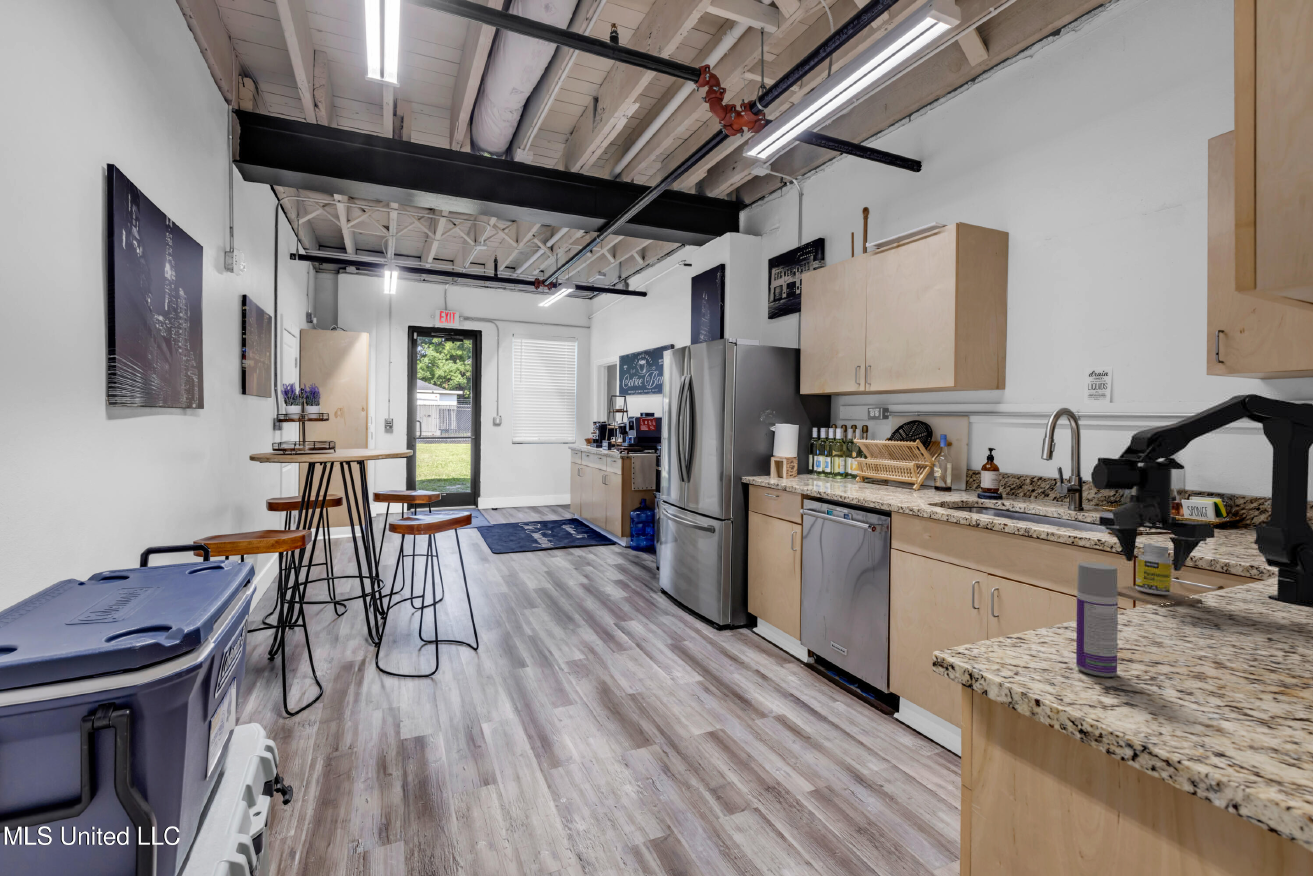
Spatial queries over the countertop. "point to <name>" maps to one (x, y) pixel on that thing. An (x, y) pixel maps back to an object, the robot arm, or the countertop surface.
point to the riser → (1156, 597)
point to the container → (1097, 619)
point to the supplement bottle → (1154, 570)
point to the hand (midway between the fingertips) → (1152, 565)
